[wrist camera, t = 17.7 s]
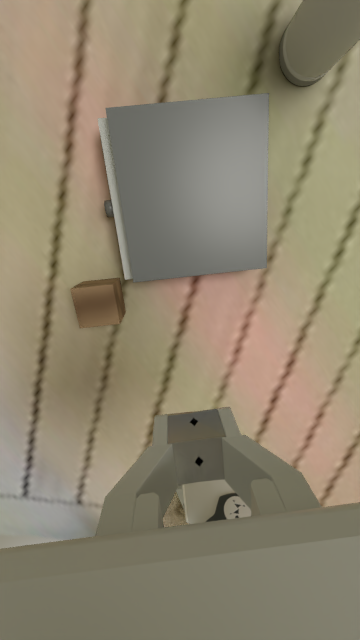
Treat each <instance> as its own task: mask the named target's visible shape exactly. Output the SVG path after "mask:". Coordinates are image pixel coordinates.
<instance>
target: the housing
mask: <svg viewBox="0 0 360 640" xmlns="http://www.w3.org/2000/svg"><path fill="white" fill-rule="evenodd" d="M106 114H107V120H108V126H109V133H110V139H111V145H112V151H113V158H114V164H115V170H116V176H117V183H118V189H119V195H120V201H121V208H122V214H123V220H124V227H125V233H126V239H127V245H128V252H129V258H130V264H131V270H132V277H133V282H142V281H151V280H160V279H169V278H179V277H188V276H197V275H206V274H216V273H225V272H234V271H243V270H252V269H262V268H267V197H268V119H269V93H265V94H254V95H243V96H232V97H221V98H210V99H199V100H188V101H177V102H166V103H155V104H144V105H134V106H123V107H112V108H106Z"/></svg>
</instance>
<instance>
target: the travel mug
mask: <svg viewBox="0 0 360 640" xmlns="http://www.w3.org/2000/svg"><path fill="white" fill-rule="evenodd" d="M359 40H360V0H303V1H302V3H301V5H300V7H299V8H298V10H297V12H296V13H295V15H294V17H293V18H292V20H291V22H290V24H289V25H288V27H287V29H286V30H285V32H284V34H283V37H282V39H281V43H280V49H279V60H280V65H281V68H282V71H283V73H284V75H285V76H286V78H287V79H288V80H289V81H290V82H292V83H294V84H295V85H299V86H308V85H311V84H314V83H316V82H317V81H318V80H320V79H321V78H322V77H323V76H324V75H325V74H326V73H327V72H328V71H329V70H330V69H331V68H332V67H333V66H334V65H335V64H336V63H337V62H338V61H339V60H340V59H341V58H342V57H343V56H344V55H345V54H346V53H347V52H348V51H349V50H350V49H351V48H352V47H353V46H354V45H355V44H356V43H357V42H358V41H359Z"/></svg>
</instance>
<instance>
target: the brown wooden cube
mask: <svg viewBox="0 0 360 640" xmlns="http://www.w3.org/2000/svg"><path fill="white" fill-rule="evenodd" d="M71 294H72V298H73V302H74V306H75V310H76V314H77V318H78V322H79V326H80V328H87V327H96V326H105V325H114V324H120V323H121V321H122V319H123V317H124V315H125V313H126V311H125V305H124V299H123V294H122V288H121V282H120V278H113V279H103V280H94V281H85V282H82V283H80V284H78V285H77V286H75V287H73V288H71Z"/></svg>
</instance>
